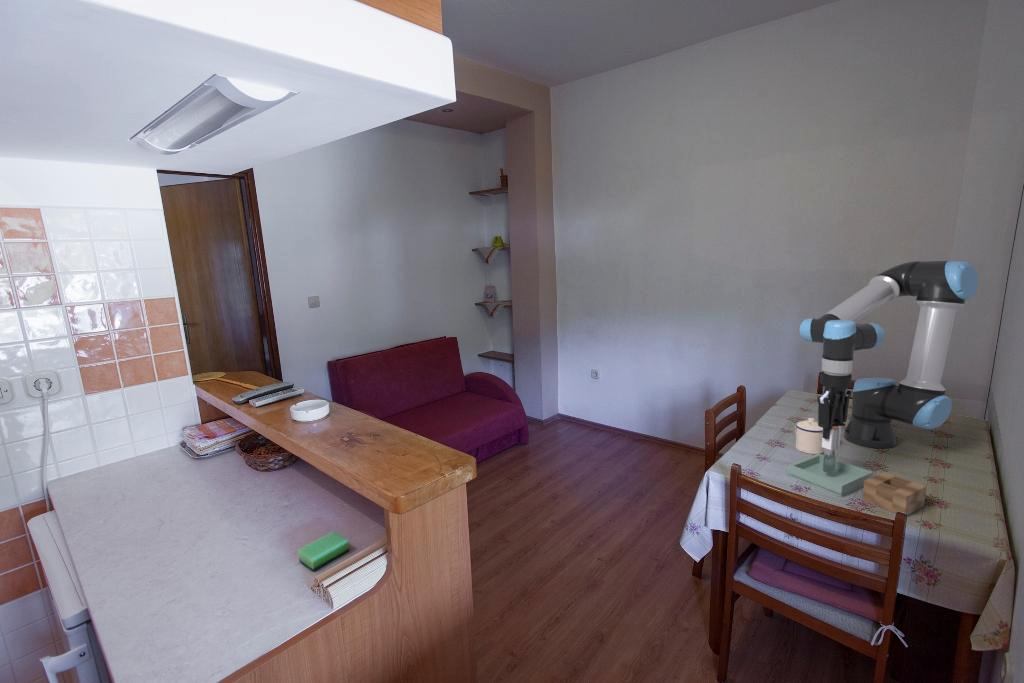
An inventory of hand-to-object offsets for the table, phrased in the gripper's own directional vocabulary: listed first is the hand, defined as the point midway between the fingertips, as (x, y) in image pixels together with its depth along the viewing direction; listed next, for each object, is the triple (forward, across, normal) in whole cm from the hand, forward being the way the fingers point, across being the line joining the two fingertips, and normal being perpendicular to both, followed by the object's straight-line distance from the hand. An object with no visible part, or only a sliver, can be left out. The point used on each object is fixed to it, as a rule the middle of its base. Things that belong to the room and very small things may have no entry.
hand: (830, 446), depth 142 cm
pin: (+8, 0, 0) cm, 8 cm away
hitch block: (+11, 0, +17) cm, 20 cm away
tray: (+11, 0, 0) cm, 11 cm away
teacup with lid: (+11, -17, -17) cm, 26 cm away
